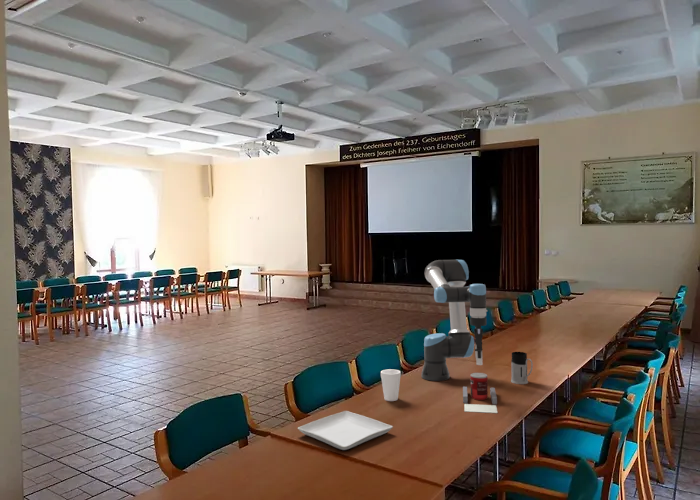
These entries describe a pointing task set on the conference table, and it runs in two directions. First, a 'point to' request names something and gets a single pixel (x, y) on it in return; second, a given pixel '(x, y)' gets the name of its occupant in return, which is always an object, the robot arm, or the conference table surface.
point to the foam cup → (390, 384)
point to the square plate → (345, 429)
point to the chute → (480, 407)
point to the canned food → (479, 386)
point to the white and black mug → (520, 368)
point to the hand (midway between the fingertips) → (478, 361)
